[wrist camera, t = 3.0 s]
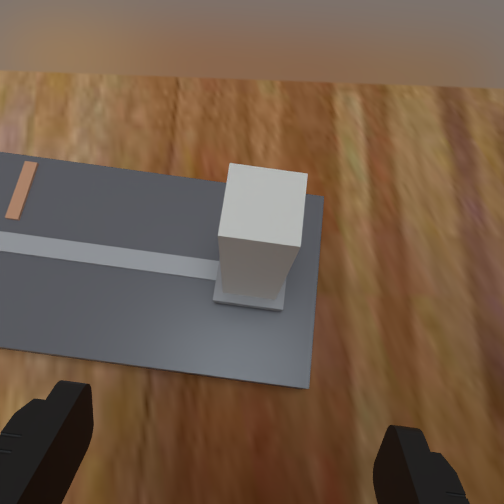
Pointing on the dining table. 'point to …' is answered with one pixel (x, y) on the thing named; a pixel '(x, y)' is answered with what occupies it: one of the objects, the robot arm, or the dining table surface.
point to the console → (140, 275)
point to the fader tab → (259, 235)
